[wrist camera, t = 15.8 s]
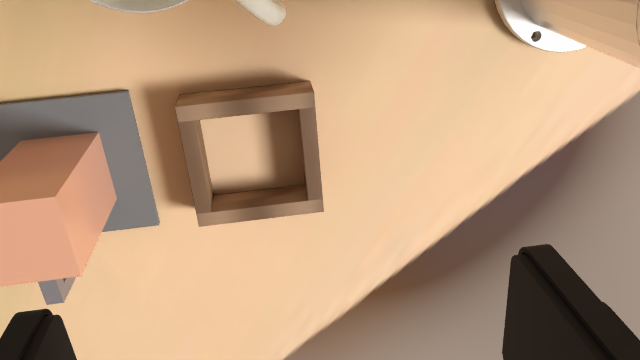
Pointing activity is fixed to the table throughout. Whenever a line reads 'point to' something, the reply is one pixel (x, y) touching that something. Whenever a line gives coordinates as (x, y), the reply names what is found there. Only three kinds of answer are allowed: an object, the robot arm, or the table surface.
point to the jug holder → (257, 201)
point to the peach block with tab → (52, 210)
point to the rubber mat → (116, 136)
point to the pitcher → (259, 3)
